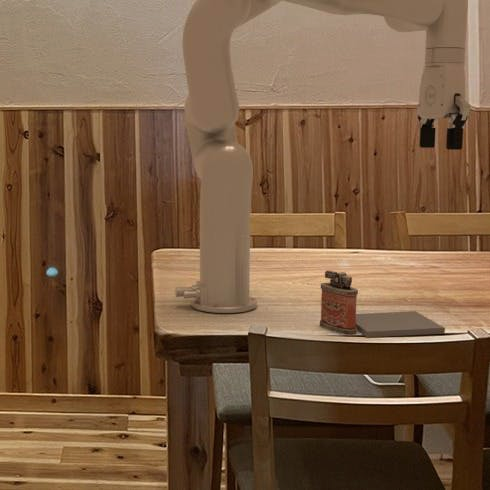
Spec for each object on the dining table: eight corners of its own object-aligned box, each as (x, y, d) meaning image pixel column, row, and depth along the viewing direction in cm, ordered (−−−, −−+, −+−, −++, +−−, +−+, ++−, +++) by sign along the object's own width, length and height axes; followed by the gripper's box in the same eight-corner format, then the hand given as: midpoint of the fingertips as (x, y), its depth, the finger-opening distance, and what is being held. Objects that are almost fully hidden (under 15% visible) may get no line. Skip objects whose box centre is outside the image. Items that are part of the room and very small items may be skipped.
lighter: (361, 333, 136) (363, 275, 134) (346, 335, 134) (348, 277, 132) (329, 322, 142) (331, 267, 141) (315, 325, 140) (316, 269, 139)
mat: (366, 337, 133) (367, 331, 133) (342, 319, 144) (342, 314, 144) (444, 333, 136) (444, 327, 136) (414, 316, 147) (415, 311, 147)
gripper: (405, 61, 161) (401, 146, 164) (452, 55, 145) (447, 150, 148) (437, 62, 164) (433, 147, 166) (488, 56, 147) (482, 150, 150)
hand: (440, 148), depth 157 cm, fingers open, 9 cm apart
